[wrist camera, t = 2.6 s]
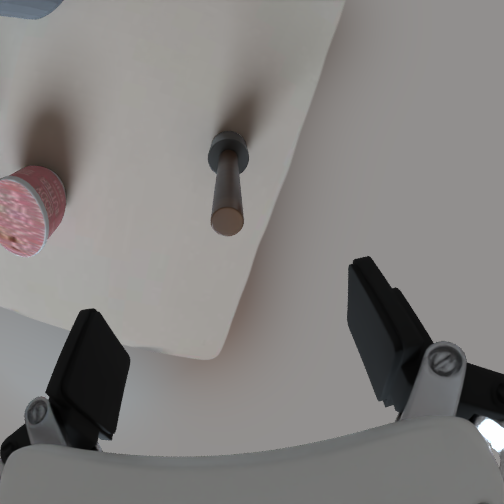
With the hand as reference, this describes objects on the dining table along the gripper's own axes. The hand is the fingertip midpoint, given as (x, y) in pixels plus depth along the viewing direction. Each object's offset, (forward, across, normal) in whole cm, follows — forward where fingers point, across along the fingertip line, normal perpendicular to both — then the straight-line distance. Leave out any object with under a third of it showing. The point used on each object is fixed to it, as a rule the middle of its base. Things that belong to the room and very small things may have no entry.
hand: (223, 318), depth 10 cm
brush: (+26, 0, 0) cm, 26 cm away
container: (+26, +26, -2) cm, 37 cm away
